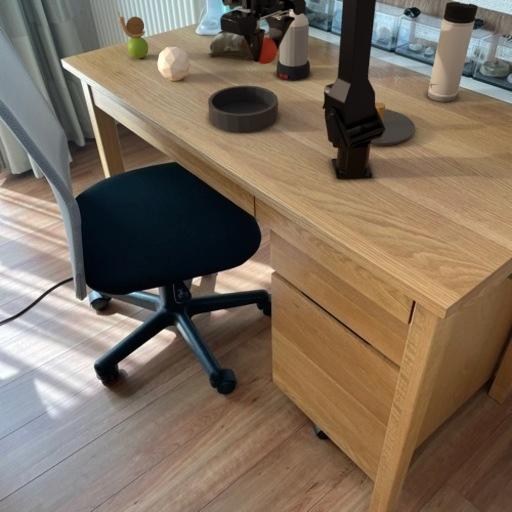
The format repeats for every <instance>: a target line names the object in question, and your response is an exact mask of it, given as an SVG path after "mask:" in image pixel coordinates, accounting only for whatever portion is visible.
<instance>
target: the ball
mask: <svg viewBox="0 0 512 512" xmlns="http://www.w3.org/2000/svg"><path fill="white" fill-rule="evenodd" d="M277 55H278V51H277V47H276V44H275V43H274V41H273V40H272V39H270V38H269V37H265V36H264V39H263V45H262V50H261V55H260V59H259V62H258V63H259V64H261V65H267V64H270V63H272V62H273V61H274V60H275V59H276V57H277Z"/></svg>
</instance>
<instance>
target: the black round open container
mask: <svg viewBox="0 0 512 512" xmlns="http://www.w3.org/2000/svg"><path fill="white" fill-rule="evenodd" d="M207 100H208V101H207V107H208V117H209V121H210V124H211V125H212V126H213V127H214V128H216V129H218V130H220V131H222V132H223V131H224V132H227V133H232V134H251V133H256V132H261V131H264V130H267V129H268V128H270V127H272V126H273V125H274V124H275V123H276V122H277V121H278V117H279V98H278V95H277V94H276V93H274V91H272V90H270V89H268V88H265V87H261V86H259V85H258V86H256V85H234V86H229V87H225V88H224V87H223V88H222V89H219V90H217V91H215V92H213V93H211V95H210V96H209V97H208V98H207Z"/></svg>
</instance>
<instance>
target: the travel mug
mask: <svg viewBox="0 0 512 512" xmlns="http://www.w3.org/2000/svg"><path fill="white" fill-rule="evenodd" d="M478 7H479V6H478V4H473V3H468V4H467V3H461V2H459V1H451V2H446V3H445V8H444V14H443V17H442V21H441V26H440V31H439V36H438V40H437V46H436V52H435V55H434V62H433V66H432V71H431V76H430V80H429V86H428V90H427V96H428V98H430V99H431V100H432V101H435V102H439V103H440V102H441V103H448V102H449V103H450V102H453V101H454V100H456V99H457V97H458V93H459V88H460V84H461V80H462V75H463V71H464V68H465V63H466V59H467V55H468V50H469V48H470V47H469V46H470V43H471V39H472V34H473V29H474V25H475V22H476V16H477V12H478Z"/></svg>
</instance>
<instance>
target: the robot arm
mask: <svg viewBox="0 0 512 512" xmlns="http://www.w3.org/2000/svg"><path fill="white" fill-rule="evenodd" d="M221 4H222V5H223V6H224V7H228V6H229V10H231V11H228V12H225V13H223V14H222V15H220V18H219V24H220V31H222V30H223V31H227V32H230V33H233V34H236V35H240V36H244V38H245V40H246V42H247V45H248V47H249V50H250V53H251V55H252V57H251V58H252V60H253V62H254V63H259V59H260V55H261V50H262V45H263V39H264V37H265V34H266V29H265V28H261V21H263V20H265V21H266V23H267V25H268V38H270V39H272V40H273V41H274V43H275V44H276V47H277V52H278V51H279V50H280V44H281V42H282V40H283V38H284V36H285V34H286V32H287V30H288V29H289V27H290V25H291V23H292V22H293V21H294V20H295V18H294V17H291V16H290V13H289V12H290V10H291V11H292V10H293V13H294V14H295V15H300V14H302V13H303V14H304V13H306V12H307V2H306V0H221ZM376 4H377V0H342V6H341V7H342V9H341V22H340V23H341V24H340V37H339V52H338V67H337V77H336V79H335V81H334V83H330V84H326V85H325V86H324V88H323V89H324V90H323V104H322V107H321V108H322V109H323V110H324V121H325V127H326V134H327V140H328V142H330V143H331V145H332V147H333V149H337V151H336V157H335V158H331V165H332V168H333V171H334V174H335V175H334V176H335V178H336V179H337V180H348V179H349V180H351V179H372V178H373V176H374V174H373V171H372V169H371V166H370V164H369V161H370V153H371V146H372V144H371V140H374V139H377V138H381V137H382V135H383V133H384V132H385V126H384V124H383V122H382V120H381V117H380V115H379V113H378V111H377V109H376V106H375V103H376V91H375V89H374V87H373V85H372V82H371V81H370V79H369V72H370V64H371V63H370V62H371V54H372V53H371V51H372V43H373V33H374V25H375V15H376ZM239 7H242V9H246V10H247V9H249V10H250V12H249V13H247V12H243V11H240V10H234V9H235V8H239ZM353 128H354V129H353Z"/></svg>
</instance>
